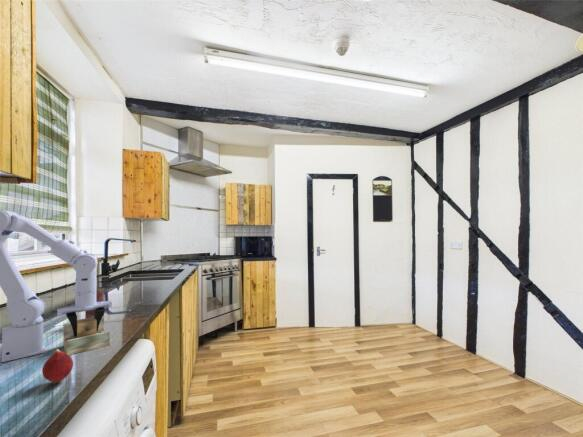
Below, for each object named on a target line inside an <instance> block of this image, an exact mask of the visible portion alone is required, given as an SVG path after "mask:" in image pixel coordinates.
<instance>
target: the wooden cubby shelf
mask: <svg viewBox="0 0 583 437" xmlns="http://www.w3.org/2000/svg"><path fill="white" fill-rule="evenodd" d="M62 331H63V332H62V334H63V335H62V341H63V342H62V346H64V347H63V348H64V351H65V352H64V353H66V354H68V355H69V356H71V355H75V354H79V353H83V352H87V351H90V350H95V349H99V348H103V347H107V346H110V345H111V342H110V339H111V338H110V337H111V336H110V335H111V334H110V333H111V332H110V330H108V331H105V316H104V317H102V319H101V321H100V324H99V327H98V332H97V334H94V335H89V336H85V337H80V338H75V337H74V334H73V329H72V326H71V323H70V322H66V323H63V329H62ZM74 353H75V354H74Z"/></svg>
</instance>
